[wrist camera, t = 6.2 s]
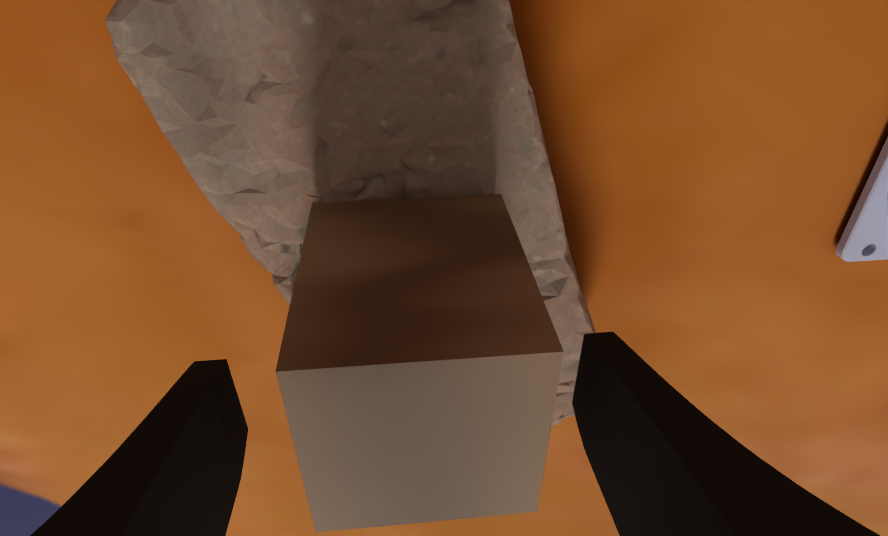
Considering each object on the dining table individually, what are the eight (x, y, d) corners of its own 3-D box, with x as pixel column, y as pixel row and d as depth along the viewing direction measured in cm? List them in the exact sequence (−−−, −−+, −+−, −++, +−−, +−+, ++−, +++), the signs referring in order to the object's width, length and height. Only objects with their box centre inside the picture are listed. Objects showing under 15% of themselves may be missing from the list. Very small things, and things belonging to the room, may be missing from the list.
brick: (140, -19, 14) (49, 13, 10) (445, -158, 13) (473, -180, 9) (393, 389, 23) (396, 488, 19) (582, 326, 22) (625, 416, 18)
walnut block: (501, 193, 13) (563, 351, 9) (492, 333, 16) (536, 512, 11) (312, 202, 13) (275, 371, 8) (334, 344, 15) (315, 532, 11)
